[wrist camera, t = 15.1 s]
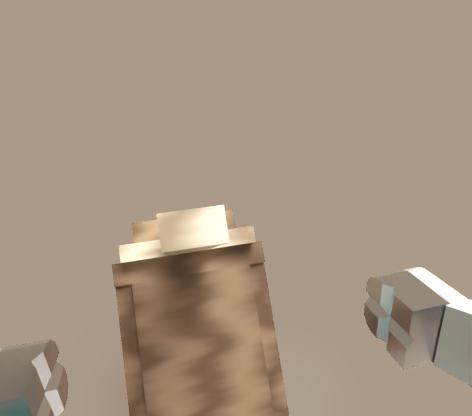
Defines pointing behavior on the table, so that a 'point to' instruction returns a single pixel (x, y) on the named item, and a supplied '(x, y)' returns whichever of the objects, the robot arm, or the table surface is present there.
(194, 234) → the plywood board
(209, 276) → the walnut shelf
